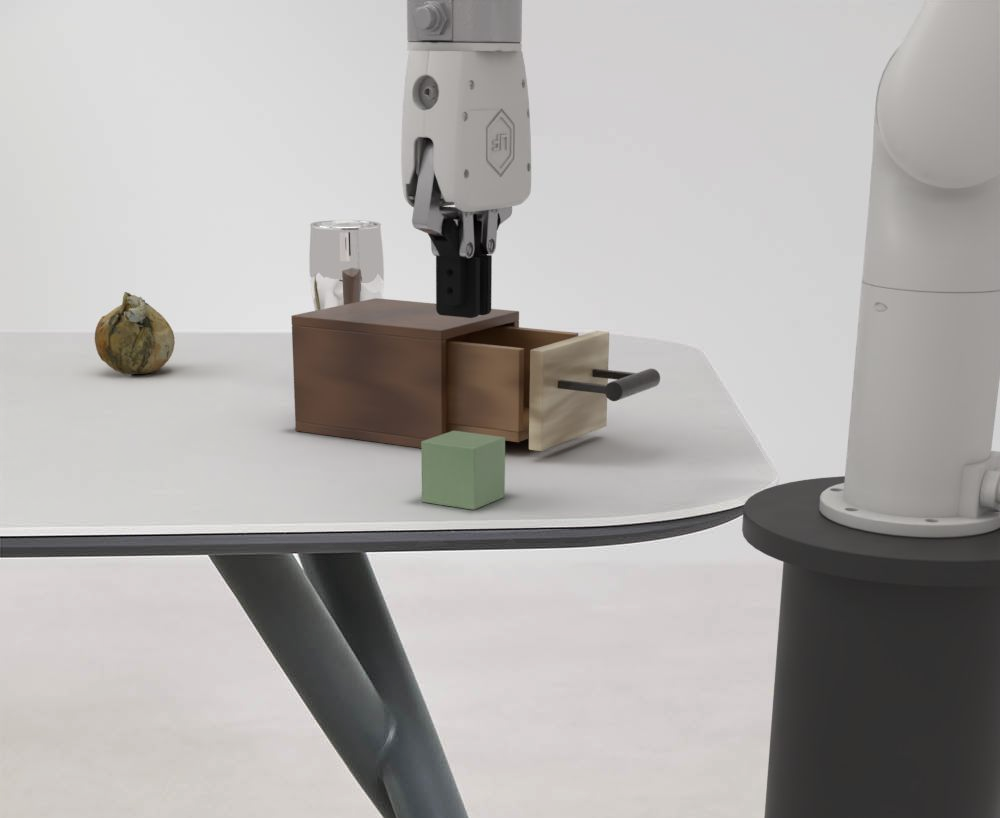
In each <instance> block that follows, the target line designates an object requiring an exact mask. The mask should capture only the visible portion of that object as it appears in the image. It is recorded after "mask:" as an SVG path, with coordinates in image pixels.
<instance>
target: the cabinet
mask: <svg viewBox="0 0 1000 818" xmlns="http://www.w3.org/2000/svg"><path fill="white" fill-rule="evenodd" d="M500 325H501V326H511V327H520V311H518V310H510V309H499V308H498V309H497V308H491V312H490V313H489V314H487V315H478V316H477V317H474V318H465V317H455V316H445V315H439V314H438V313H437V311H436V303H431V302H423V301H422V302H421V301H410V300H401V299H399V300H398V299H389V298H383V299H379V298H375V299H370V300H365V301H360V302H355V303H350V304H346V305H341V306H336V307H331V308H326V309H321V310H316V311H315V310H312V311H308V312H303V313H298V314H292V315H291V342H292V343H291V344H292V367H293V368H292V369H293V394H294V421H295V425H294V426H295V431H296V432H302V433H309V434H315V435H322V436H331V437H336V438H337V437H338V438H345V439H353V440H359V441H366V442H374V443H381V444H387V445H396V446H401V447H402V446H403V447H409V448H418V449H421V442H422V441H424V440H427V439H430V438H433V437H436V436H439V435H442V434H445V433H446V340H445V339H449V338H453V337H457V336H461V335H465V334H469V333H473V332H477V331H480V330H484V329H488V328H492V327H496V326H500Z"/></svg>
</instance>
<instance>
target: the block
mask: <svg viewBox="0 0 1000 818" xmlns="http://www.w3.org/2000/svg"><path fill="white" fill-rule="evenodd" d="M420 450H421V455H420V456H421V459H420V461H421V502H422V503H428V504H434V505H440V506H446V507H453V508H460V509H467V510H473V511H474V510H477V509H479V508H482V507H484V506H487V505H490V504H492V503H494V502H496V501H498V500H501V499H503V498H505V497H506V494H505V492H506V489H505V488H506V483H505V481H506V441H505V437H499V436H491V435H484V434H476V433H468V432H461V431H451V432H448V433H445V434H442V435H439V436H436V437H433V438H430V439H427V440H424V441H422V442H421V448H420Z"/></svg>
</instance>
